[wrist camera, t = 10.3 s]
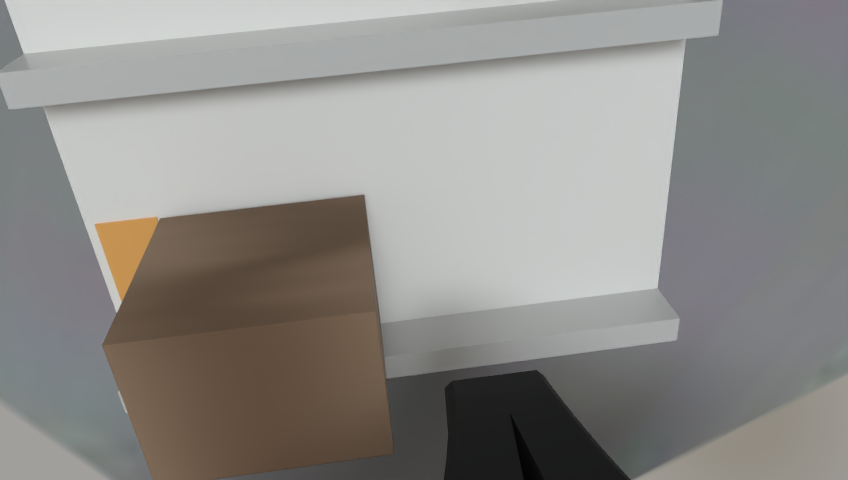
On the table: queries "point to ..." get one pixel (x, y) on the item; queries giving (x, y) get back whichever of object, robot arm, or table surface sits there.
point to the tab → (254, 342)
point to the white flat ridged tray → (390, 148)
